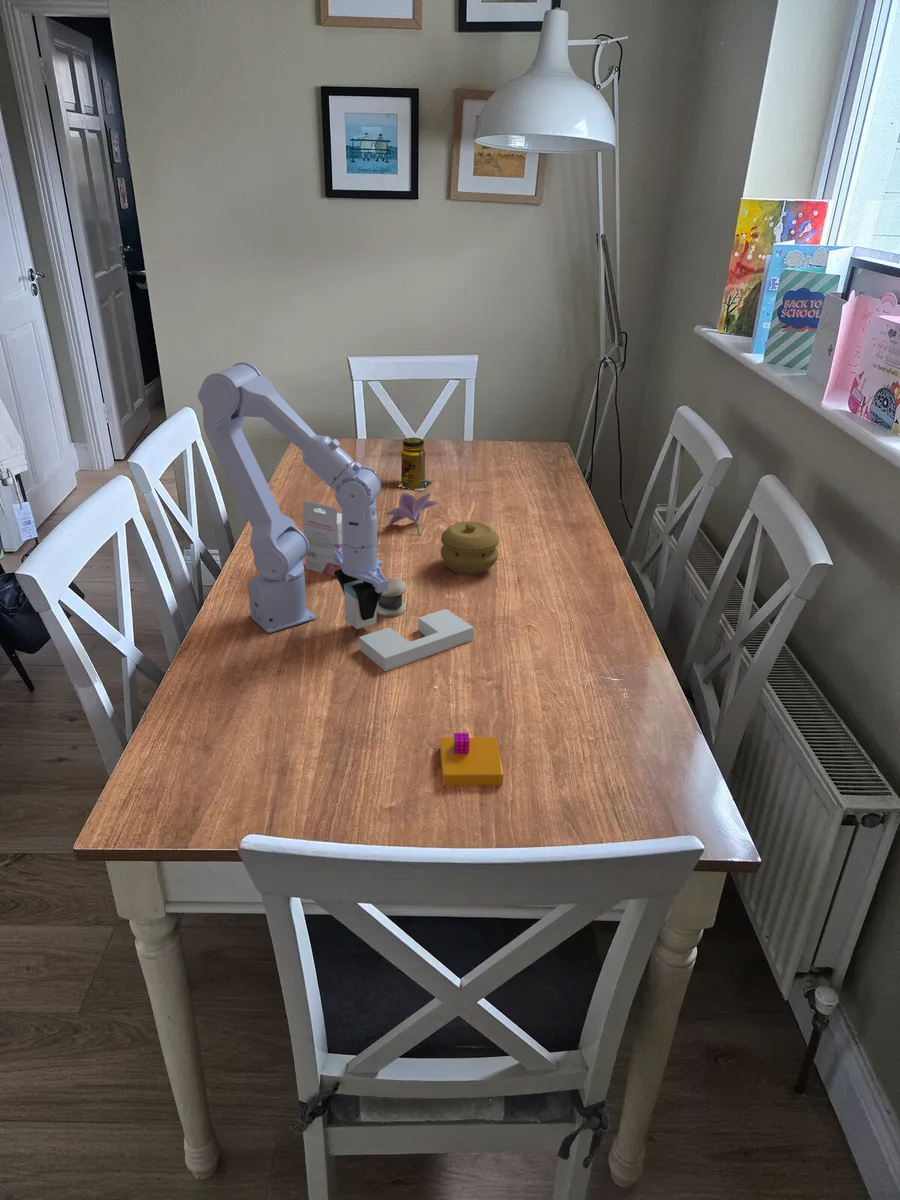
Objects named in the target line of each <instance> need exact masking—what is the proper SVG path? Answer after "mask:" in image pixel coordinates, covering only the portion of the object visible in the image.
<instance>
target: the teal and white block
mask: <svg viewBox="0 0 900 1200" xmlns="http://www.w3.org/2000/svg"><path fill="white" fill-rule="evenodd" d="M358 583H363V580H356V581H353V582H349V583H345V584H344V593H343V596H344V595H345V596H344V620H345V621H346V622H348V623H349V624H350V625H351V626H353V627H354V628H355V629H356V630H359V629H362V628H365V627H368V626H371V625H374V624H377V623H378V622H377V621H378V620H377V618H378V617H377V616H378V614H377V606H376V610H375V614H374V617H373V618H371V619H367V620H362V618H361V615H360V609H359V602H358V598H357V595H356V593H355V591H354V589H353V587H352V585H355V584H358Z"/></svg>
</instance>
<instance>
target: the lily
mask: <svg viewBox="0 0 900 1200" xmlns="http://www.w3.org/2000/svg"><path fill="white" fill-rule="evenodd" d="M431 494H432V493H427V494H425V495H422V496H421V497H418V498H416V497H415V496H413V495H411V494H410V493H405V492H403V493H401V495H400V496H399V500H398V507H396V508H394V509H391V510H388V511H387V512H385V515H389V516H392V517H391V518H390V520H389V522H388V525H389V526H392V525H393V524H395V523H398V522H399V521H401V520H403V519H406V518H407V519H408V520H411V521H412V522H414V523H415V526H416V530H417V533H418V536H419V535H420V536H421V533H420V529H419V526H418V522H419V519H420V516H421V512H422V511H423V510H426V509H428V508H429V509H430V508H431V507H433V506H436V505H438V504H439V503H438V502H437V501H434V500H429V498H430V496H431Z"/></svg>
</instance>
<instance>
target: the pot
mask: <svg viewBox="0 0 900 1200" xmlns="http://www.w3.org/2000/svg"><path fill="white" fill-rule="evenodd" d="M440 540H441V543H442V546H441V548H440V555H441V558H442V561H443V562H444V563H445V565H446V567H448V568H449V569H451V570H452V571H453V572H456V573H458V574H459V573H460V574H465V575H478V574H481V573H484V572H487V571H489V570H490V569H491V568H492V566H494V564H495V563H496V562H497V559H498V557H499V550H498V548H497V547H498V546H499V544H500V539H499V535H498V534H497V532H496V531H495V530H494V529H493V528H492V527H490V526H489V525H487V524H485V523H482V522H477V521H460V522H456V523H454V524H452V525H450V526H448V527H447V528H446V529H445V530H444V531H443V533H442V534H441V539H440Z"/></svg>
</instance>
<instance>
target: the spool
mask: <svg viewBox="0 0 900 1200" xmlns="http://www.w3.org/2000/svg"><path fill="white" fill-rule="evenodd" d="M386 579H387V580H388V591H384V592H383V593H382V594H381V596H380V598H379V600H378V603H377V615H379V616H381V617H384V618H385V617H386V618H394V617H395V618H396V617H399V616H402V615H403V614H405V612H406V610H407V608H406V603H405V602H404V601H403V594H404V593H405V592H406V587H407V585H406V583H405V582H404V581H403V580H402V579H398V578H386Z"/></svg>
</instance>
